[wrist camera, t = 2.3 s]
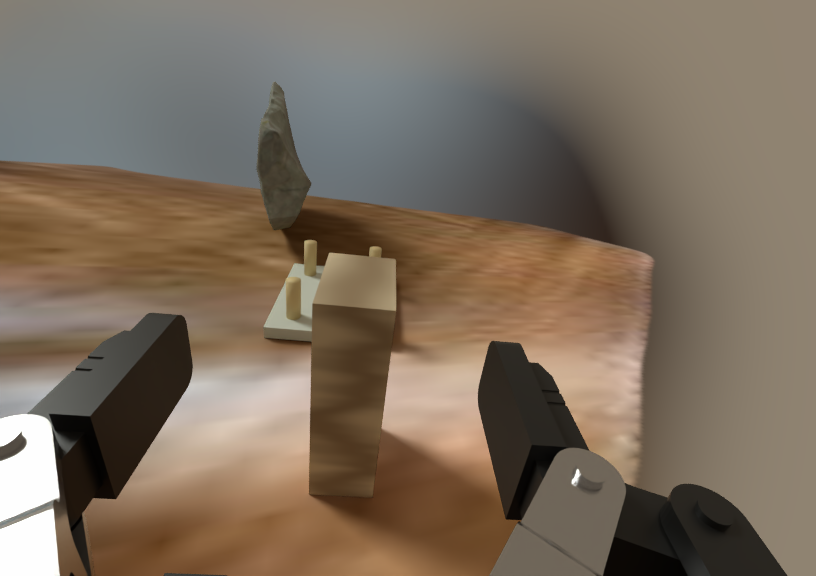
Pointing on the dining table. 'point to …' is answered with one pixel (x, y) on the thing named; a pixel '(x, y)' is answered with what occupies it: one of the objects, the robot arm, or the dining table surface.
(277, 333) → the peg board
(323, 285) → the tan wooden block
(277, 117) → the rock
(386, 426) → the dining table surface
